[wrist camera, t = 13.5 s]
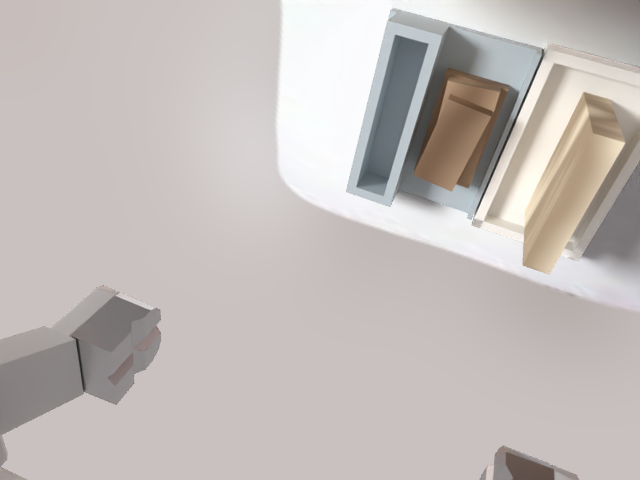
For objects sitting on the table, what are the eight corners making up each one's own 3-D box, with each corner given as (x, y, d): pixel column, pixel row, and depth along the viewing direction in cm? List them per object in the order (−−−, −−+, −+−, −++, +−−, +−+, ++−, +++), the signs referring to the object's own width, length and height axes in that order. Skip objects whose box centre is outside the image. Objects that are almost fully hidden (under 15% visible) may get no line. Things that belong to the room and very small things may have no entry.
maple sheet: (610, 99, 40) (625, 142, 33) (547, 216, 46) (549, 274, 39) (583, 91, 40) (593, 133, 33) (525, 209, 47) (522, 265, 39)
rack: (541, 48, 40) (542, 63, 36) (473, 209, 49) (468, 233, 45) (393, 8, 42) (379, 18, 38) (353, 169, 51) (339, 189, 47)
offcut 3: (501, 87, 40) (500, 92, 39) (472, 178, 45) (470, 184, 44) (449, 76, 41) (447, 80, 40) (426, 166, 46) (424, 172, 45)
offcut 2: (492, 111, 40) (491, 116, 39) (453, 184, 44) (451, 191, 43) (450, 93, 41) (447, 98, 40) (415, 168, 45) (413, 174, 44)
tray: (679, 78, 38) (685, 86, 36) (576, 248, 47) (578, 261, 46) (547, 42, 40) (547, 48, 38) (473, 214, 49) (471, 225, 47)
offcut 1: (509, 85, 41) (508, 89, 40) (470, 182, 47) (468, 188, 45) (448, 67, 42) (445, 71, 41) (416, 164, 47) (413, 170, 46)
